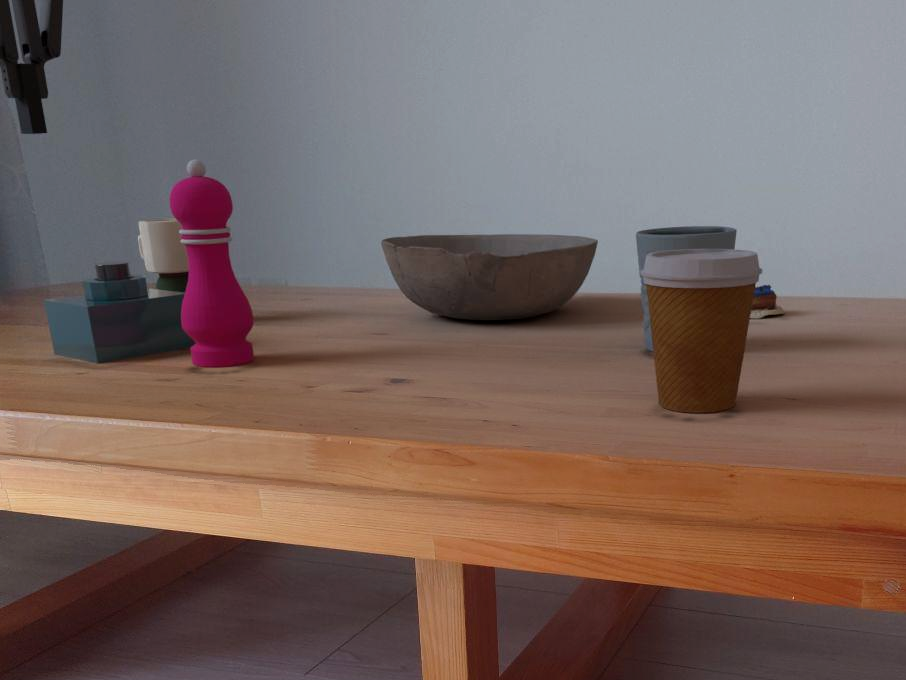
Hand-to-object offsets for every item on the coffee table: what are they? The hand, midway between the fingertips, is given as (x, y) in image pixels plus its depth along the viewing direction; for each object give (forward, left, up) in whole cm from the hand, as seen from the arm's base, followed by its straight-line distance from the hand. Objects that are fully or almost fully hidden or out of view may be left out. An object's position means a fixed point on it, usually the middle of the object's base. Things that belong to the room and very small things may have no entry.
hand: (34, 133), depth 105 cm
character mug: (+19, +10, -23) cm, 32 cm away
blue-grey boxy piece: (+4, -3, -23) cm, 24 cm away
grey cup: (+39, -55, -23) cm, 71 cm away
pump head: (+4, -3, -16) cm, 16 cm away
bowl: (+46, -21, -23) cm, 56 cm away
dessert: (+63, -50, -23) cm, 84 cm away
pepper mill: (+7, -19, -23) cm, 31 cm away
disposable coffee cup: (+18, -70, -23) cm, 76 cm away
